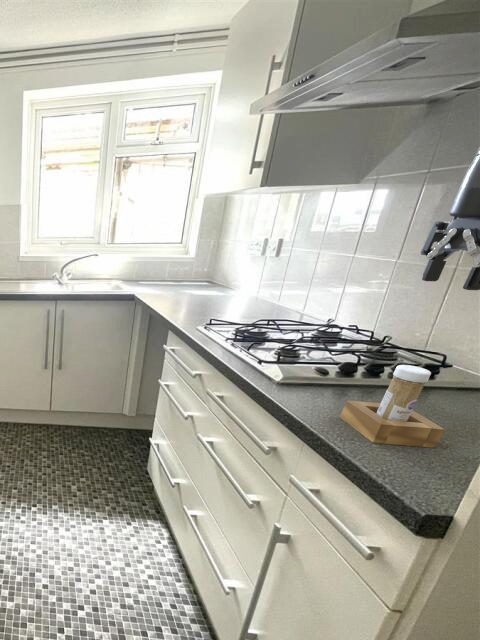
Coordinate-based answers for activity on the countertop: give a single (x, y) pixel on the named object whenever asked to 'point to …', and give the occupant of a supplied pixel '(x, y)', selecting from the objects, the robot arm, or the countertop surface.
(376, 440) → the holder
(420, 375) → the sprinkles bottle
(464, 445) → the countertop surface
